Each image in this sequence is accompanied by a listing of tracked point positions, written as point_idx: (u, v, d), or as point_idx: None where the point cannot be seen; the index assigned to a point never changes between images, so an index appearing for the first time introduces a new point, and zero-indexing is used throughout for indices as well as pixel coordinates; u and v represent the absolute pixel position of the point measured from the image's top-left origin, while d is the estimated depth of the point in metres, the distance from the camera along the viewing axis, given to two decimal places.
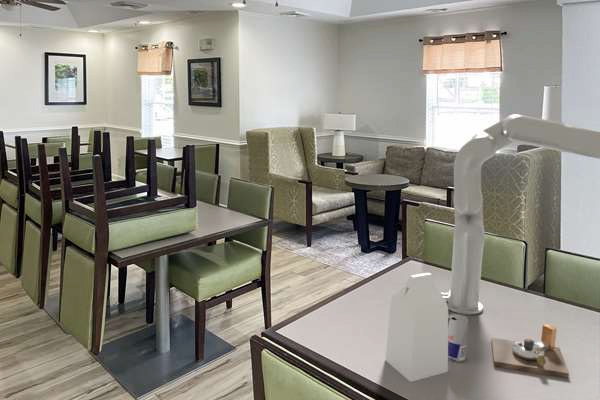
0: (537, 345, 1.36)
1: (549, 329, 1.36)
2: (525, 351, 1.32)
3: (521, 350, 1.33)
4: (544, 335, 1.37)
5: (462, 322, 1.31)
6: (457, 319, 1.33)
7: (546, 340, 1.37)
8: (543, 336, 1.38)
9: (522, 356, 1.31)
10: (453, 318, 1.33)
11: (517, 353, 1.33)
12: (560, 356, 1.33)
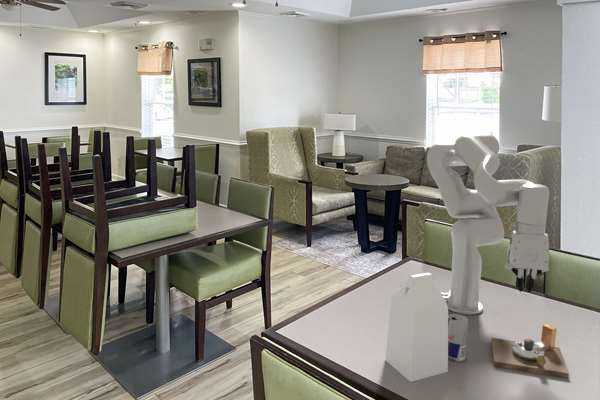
0: (537, 345, 1.36)
1: (549, 329, 1.36)
2: (525, 351, 1.32)
3: (521, 350, 1.33)
4: (544, 335, 1.37)
5: (462, 322, 1.31)
6: (457, 319, 1.33)
7: (546, 340, 1.37)
8: (543, 336, 1.38)
9: (522, 356, 1.31)
10: (453, 318, 1.33)
11: (517, 353, 1.33)
12: (560, 356, 1.33)
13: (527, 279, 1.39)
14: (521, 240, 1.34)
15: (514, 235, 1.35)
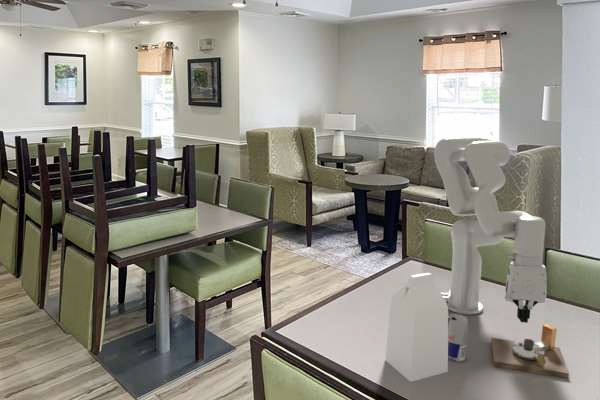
0: (537, 345, 1.36)
1: (549, 329, 1.36)
2: (525, 351, 1.32)
3: (521, 350, 1.33)
4: (544, 335, 1.37)
5: (462, 322, 1.31)
6: (457, 319, 1.33)
7: (546, 340, 1.37)
8: (543, 336, 1.38)
9: (522, 356, 1.31)
10: (453, 318, 1.33)
11: (517, 353, 1.33)
12: (560, 356, 1.33)
13: None
14: (519, 272, 1.36)
15: (512, 267, 1.37)
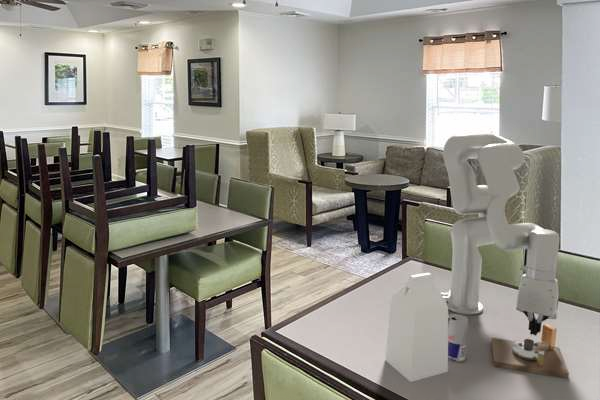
0: (537, 345, 1.36)
1: (549, 329, 1.36)
2: (525, 351, 1.32)
3: (521, 350, 1.33)
4: (544, 335, 1.37)
5: (462, 322, 1.31)
6: (457, 319, 1.33)
7: (546, 340, 1.37)
8: (543, 336, 1.38)
9: (522, 356, 1.31)
10: (453, 318, 1.33)
11: (517, 353, 1.33)
12: (560, 356, 1.33)
13: None
14: (526, 283, 1.37)
15: None
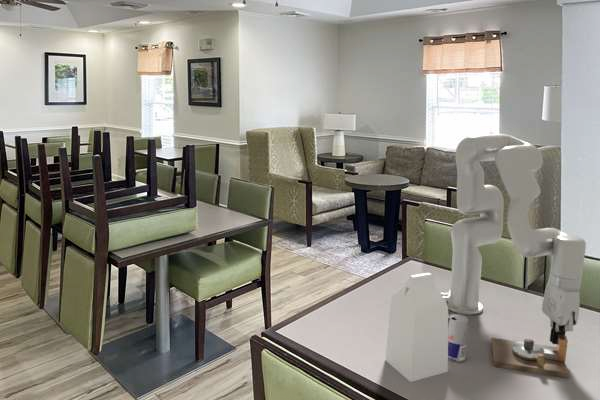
0: (543, 350, 1.33)
1: (559, 339, 1.30)
2: (519, 348, 1.34)
3: (517, 346, 1.35)
4: (557, 345, 1.32)
5: (462, 322, 1.31)
6: (457, 319, 1.33)
7: (557, 350, 1.31)
8: (557, 346, 1.32)
9: (513, 351, 1.34)
10: (453, 318, 1.33)
11: (512, 347, 1.36)
12: None
13: None
14: (548, 287, 1.34)
15: None
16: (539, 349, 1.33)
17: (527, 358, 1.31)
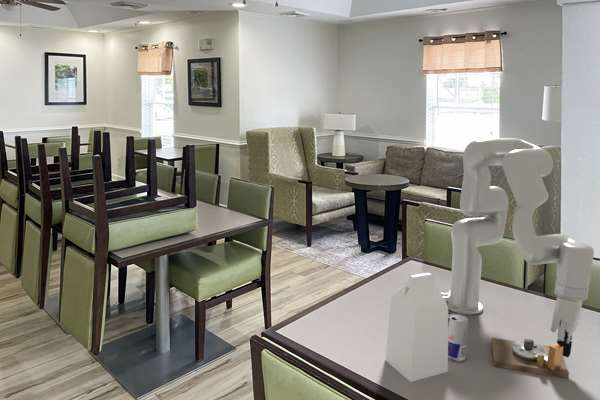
0: None
1: None
2: (519, 345, 1.36)
3: (519, 344, 1.36)
4: None
5: (462, 322, 1.31)
6: (457, 319, 1.33)
7: None
8: None
9: None
10: (453, 318, 1.33)
11: None
12: None
13: None
14: None
15: None
16: (538, 352, 1.32)
17: (516, 354, 1.33)
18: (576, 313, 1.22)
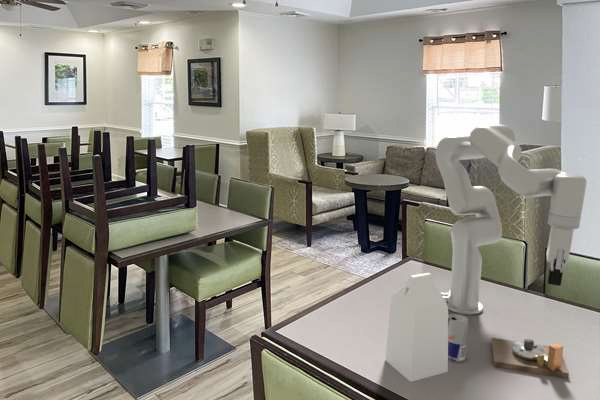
0: None
1: None
2: (519, 345, 1.36)
3: (519, 344, 1.36)
4: None
5: (462, 322, 1.31)
6: (457, 319, 1.33)
7: None
8: None
9: None
10: (453, 318, 1.33)
11: None
12: None
13: None
14: None
15: None
16: (538, 352, 1.32)
17: (516, 354, 1.33)
18: (571, 241, 1.27)
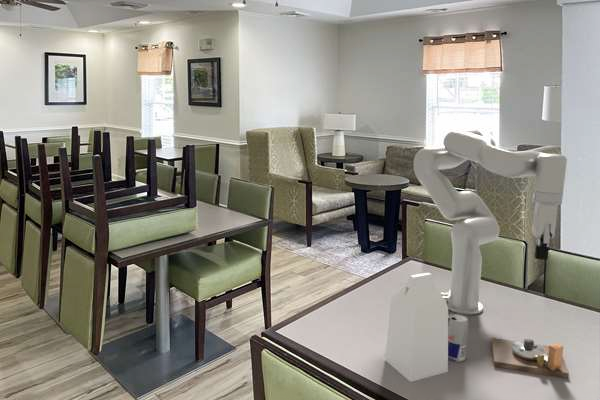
0: None
1: None
2: (519, 345, 1.36)
3: (519, 344, 1.36)
4: None
5: (462, 322, 1.31)
6: (457, 319, 1.33)
7: None
8: None
9: None
10: (453, 318, 1.33)
11: None
12: None
13: None
14: (535, 204, 1.42)
15: None
16: (538, 352, 1.32)
17: (516, 354, 1.33)
18: (556, 216, 1.36)
